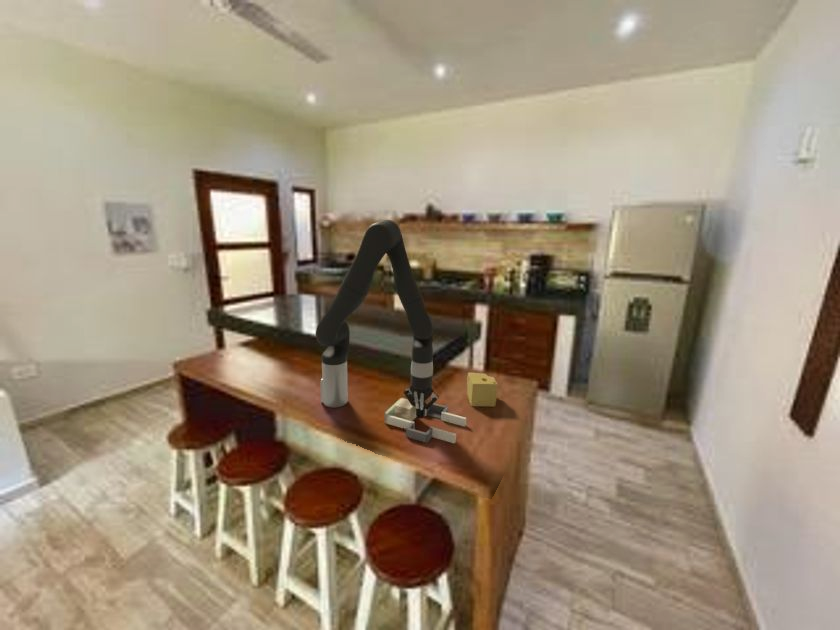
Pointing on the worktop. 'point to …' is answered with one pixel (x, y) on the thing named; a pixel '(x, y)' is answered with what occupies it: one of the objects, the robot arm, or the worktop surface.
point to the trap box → (435, 412)
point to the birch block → (405, 410)
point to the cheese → (481, 389)
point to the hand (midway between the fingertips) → (420, 417)
